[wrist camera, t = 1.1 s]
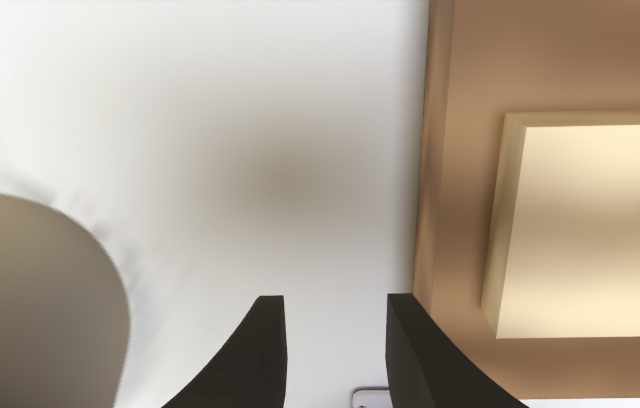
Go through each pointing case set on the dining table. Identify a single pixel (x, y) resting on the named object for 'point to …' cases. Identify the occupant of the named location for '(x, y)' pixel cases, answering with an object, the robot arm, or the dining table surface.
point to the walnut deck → (482, 165)
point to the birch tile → (565, 226)
